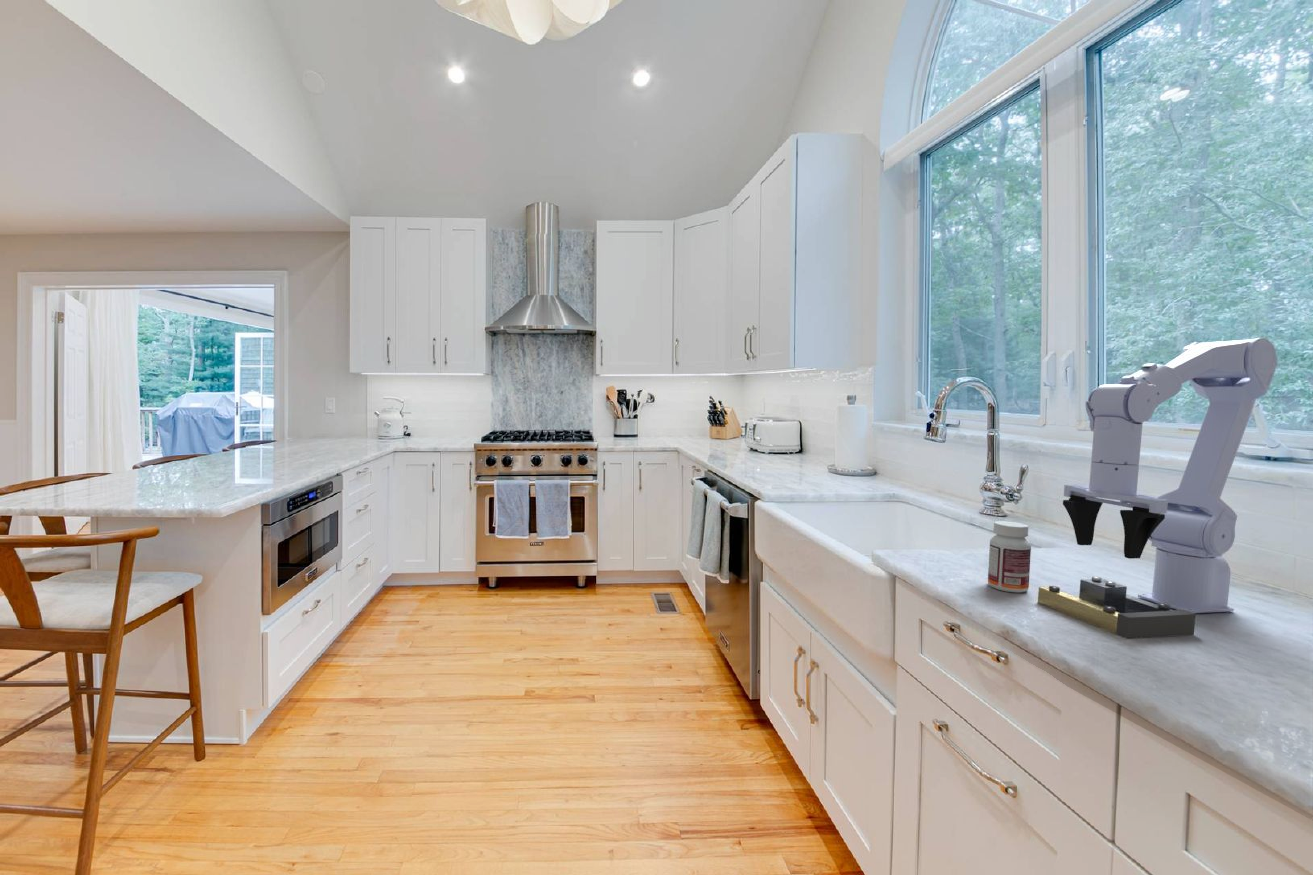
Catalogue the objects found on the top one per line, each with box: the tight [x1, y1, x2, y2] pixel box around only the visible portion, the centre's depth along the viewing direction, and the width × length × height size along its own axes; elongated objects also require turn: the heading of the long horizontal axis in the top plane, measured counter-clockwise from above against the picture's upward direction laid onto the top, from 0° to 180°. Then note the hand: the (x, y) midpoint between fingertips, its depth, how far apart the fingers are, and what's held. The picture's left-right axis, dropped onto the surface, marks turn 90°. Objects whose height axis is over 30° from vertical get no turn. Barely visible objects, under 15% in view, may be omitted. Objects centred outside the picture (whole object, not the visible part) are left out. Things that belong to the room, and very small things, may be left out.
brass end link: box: [1037, 585, 1118, 635], centre depth 87 cm, size 2×13×3 cm, turn 12°
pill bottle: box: [987, 520, 1032, 593], centre depth 100 cm, size 6×6×11 cm
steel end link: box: [1125, 593, 1175, 613], centre depth 89 cm, size 2×13×3 cm, turn 12°
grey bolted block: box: [1078, 576, 1128, 613], centre depth 89 cm, size 4×4×6 cm
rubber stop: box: [1115, 609, 1197, 640], centre depth 81 cm, size 12×2×3 cm, turn 102°
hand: (1107, 551), depth 88 cm, fingers open, 7 cm apart
